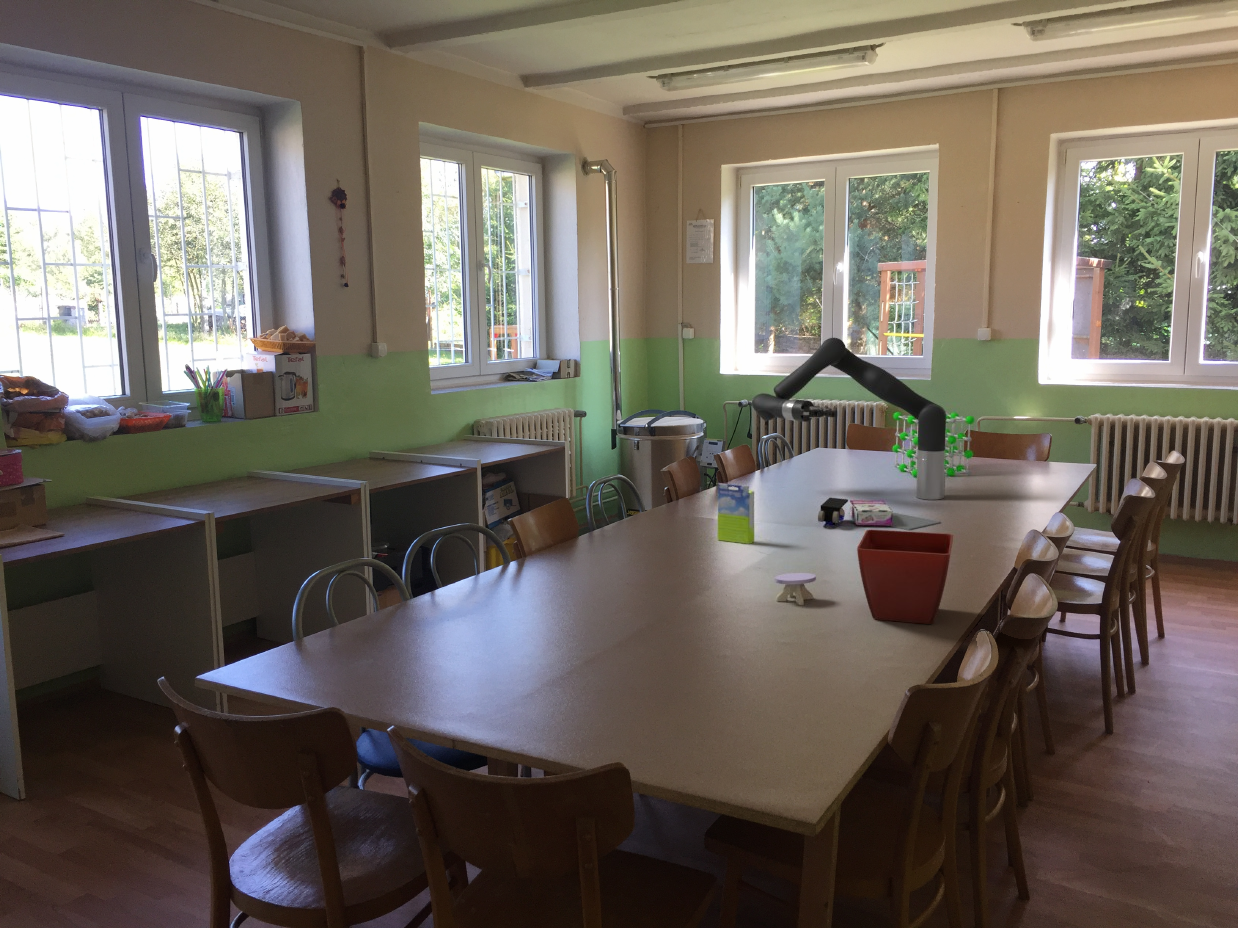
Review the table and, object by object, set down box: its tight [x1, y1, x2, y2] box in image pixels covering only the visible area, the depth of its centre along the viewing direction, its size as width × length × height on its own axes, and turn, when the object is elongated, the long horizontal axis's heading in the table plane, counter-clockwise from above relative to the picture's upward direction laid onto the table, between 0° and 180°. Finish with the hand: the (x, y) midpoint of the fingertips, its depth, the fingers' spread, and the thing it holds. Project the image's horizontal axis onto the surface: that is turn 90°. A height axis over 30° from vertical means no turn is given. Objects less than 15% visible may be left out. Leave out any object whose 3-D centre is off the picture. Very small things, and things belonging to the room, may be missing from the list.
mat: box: [885, 512, 942, 531], centre depth 310 cm, size 16×18×1 cm
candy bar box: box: [848, 499, 894, 526], centre depth 310 cm, size 11×5×16 cm
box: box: [717, 482, 755, 545], centre depth 286 cm, size 11×4×17 cm, turn 58°
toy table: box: [774, 572, 817, 606], centre depth 229 cm, size 10×9×6 cm
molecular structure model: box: [892, 411, 975, 478], centre depth 399 cm, size 24×25×24 cm
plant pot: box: [856, 529, 954, 625], centre depth 216 cm, size 19×19×17 cm
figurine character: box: [817, 497, 849, 529], centre depth 307 cm, size 7×8×15 cm
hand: (835, 414), depth 329 cm, fingers closed
